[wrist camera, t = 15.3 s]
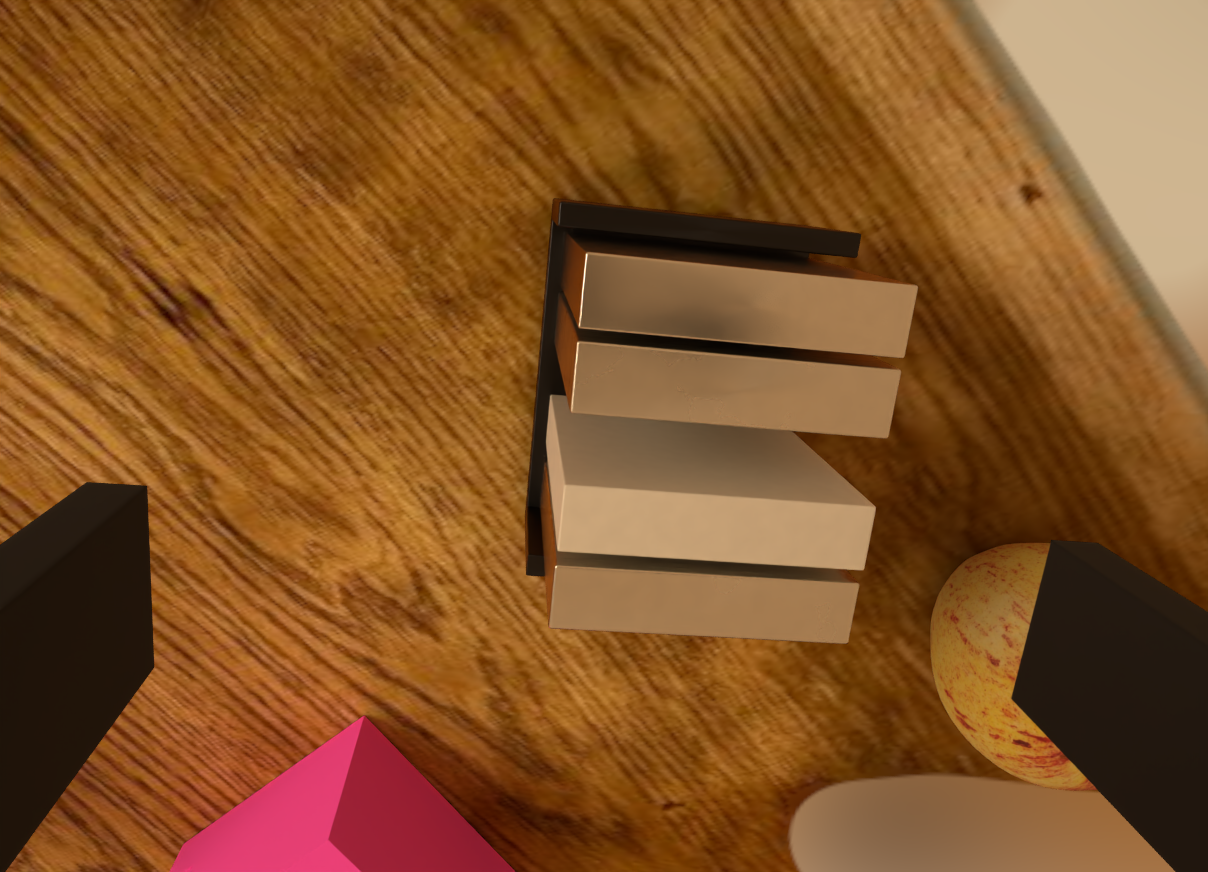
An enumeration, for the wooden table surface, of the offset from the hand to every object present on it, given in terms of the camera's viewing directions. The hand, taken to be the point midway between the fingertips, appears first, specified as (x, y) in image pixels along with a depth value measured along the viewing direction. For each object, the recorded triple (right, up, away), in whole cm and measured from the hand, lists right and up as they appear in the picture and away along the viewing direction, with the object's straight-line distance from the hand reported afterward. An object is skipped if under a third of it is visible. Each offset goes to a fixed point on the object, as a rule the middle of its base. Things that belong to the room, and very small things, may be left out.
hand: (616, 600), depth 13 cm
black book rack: (+2, +5, +23) cm, 24 cm away
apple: (+17, -5, +27) cm, 33 cm away
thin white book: (+2, +3, +23) cm, 23 cm away
